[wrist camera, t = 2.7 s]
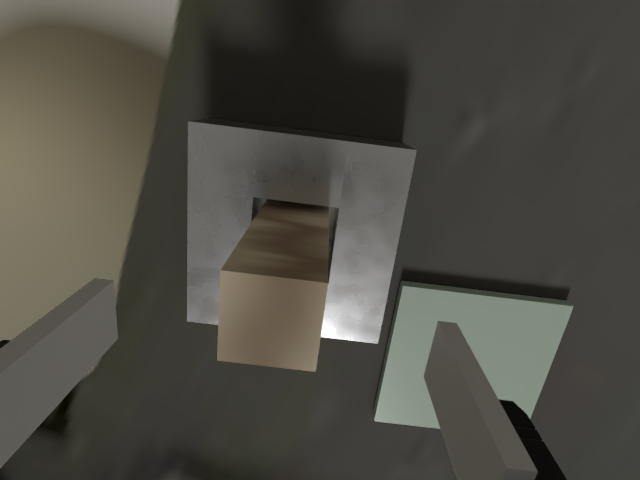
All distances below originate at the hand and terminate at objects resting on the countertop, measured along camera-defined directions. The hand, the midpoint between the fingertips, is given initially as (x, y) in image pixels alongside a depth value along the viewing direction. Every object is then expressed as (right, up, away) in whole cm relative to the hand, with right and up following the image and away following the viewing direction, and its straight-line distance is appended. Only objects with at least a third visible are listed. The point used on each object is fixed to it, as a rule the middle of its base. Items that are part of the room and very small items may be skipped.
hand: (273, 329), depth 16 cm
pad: (+15, -7, +19) cm, 25 cm away
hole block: (0, +5, +15) cm, 16 cm away
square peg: (0, +5, +14) cm, 15 cm away
